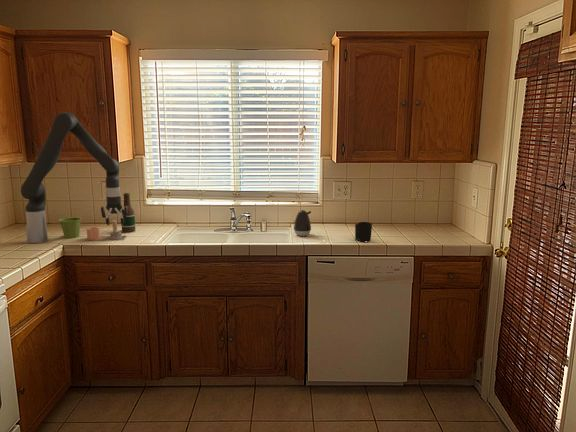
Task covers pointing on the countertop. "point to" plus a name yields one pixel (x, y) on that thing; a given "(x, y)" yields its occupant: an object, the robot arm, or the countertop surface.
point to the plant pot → (71, 226)
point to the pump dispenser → (302, 223)
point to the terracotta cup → (93, 233)
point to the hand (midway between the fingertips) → (115, 224)
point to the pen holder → (363, 231)
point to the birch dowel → (114, 227)
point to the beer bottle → (128, 216)
